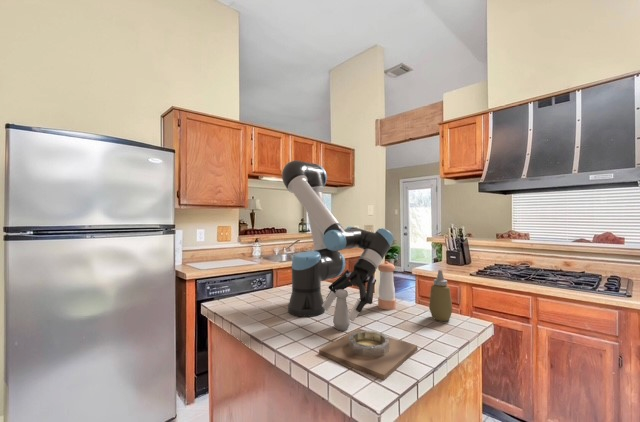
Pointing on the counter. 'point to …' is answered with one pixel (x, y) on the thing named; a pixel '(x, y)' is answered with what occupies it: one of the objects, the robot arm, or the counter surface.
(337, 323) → the salt shaker
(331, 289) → the robot arm
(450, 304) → the squeeze bottle
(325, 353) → the collar board
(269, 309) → the counter surface
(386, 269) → the pepper shaker
